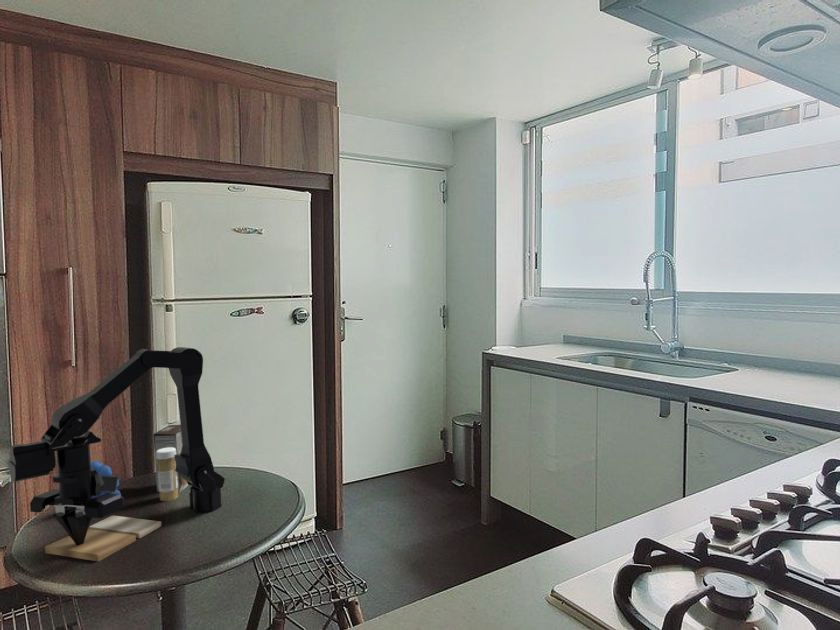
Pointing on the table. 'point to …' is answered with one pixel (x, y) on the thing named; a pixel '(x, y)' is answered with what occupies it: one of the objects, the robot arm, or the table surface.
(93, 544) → the oak plank
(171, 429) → the coffee box
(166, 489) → the sprinkles bottle
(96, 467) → the grapes
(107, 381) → the robot arm
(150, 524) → the ash board
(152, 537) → the table surface
